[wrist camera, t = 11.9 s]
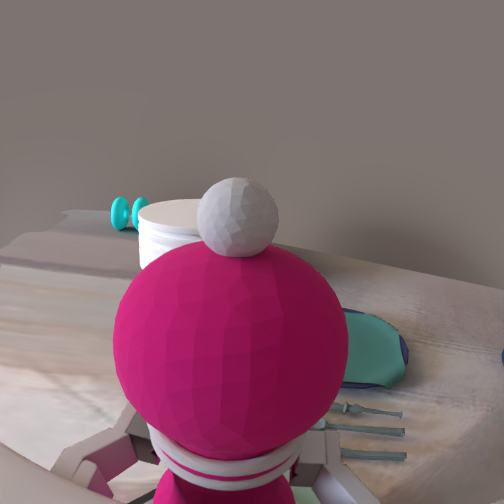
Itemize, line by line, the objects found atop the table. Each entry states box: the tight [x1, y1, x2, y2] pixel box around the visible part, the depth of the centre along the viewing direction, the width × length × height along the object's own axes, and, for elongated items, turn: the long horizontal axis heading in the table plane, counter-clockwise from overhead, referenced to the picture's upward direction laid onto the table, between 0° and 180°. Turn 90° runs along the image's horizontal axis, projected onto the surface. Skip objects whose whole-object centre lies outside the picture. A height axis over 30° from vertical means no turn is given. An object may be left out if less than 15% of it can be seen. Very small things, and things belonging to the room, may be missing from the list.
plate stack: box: [138, 199, 203, 269], centre depth 71 cm, size 28×28×12 cm
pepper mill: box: [113, 177, 349, 504], centre depth 10 cm, size 7×7×20 cm
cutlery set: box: [310, 308, 408, 461], centre depth 38 cm, size 20×30×2 cm, turn 163°
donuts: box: [111, 197, 149, 231], centre depth 90 cm, size 10×10×10 cm
